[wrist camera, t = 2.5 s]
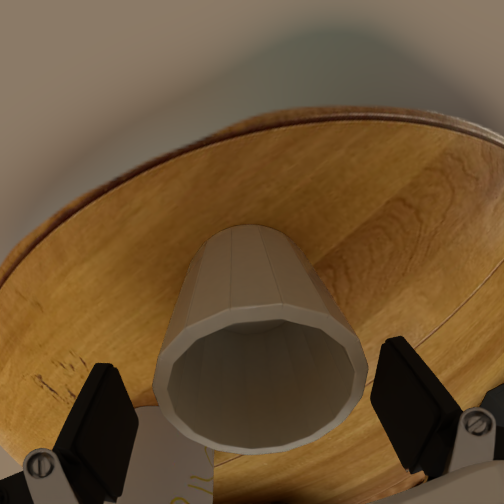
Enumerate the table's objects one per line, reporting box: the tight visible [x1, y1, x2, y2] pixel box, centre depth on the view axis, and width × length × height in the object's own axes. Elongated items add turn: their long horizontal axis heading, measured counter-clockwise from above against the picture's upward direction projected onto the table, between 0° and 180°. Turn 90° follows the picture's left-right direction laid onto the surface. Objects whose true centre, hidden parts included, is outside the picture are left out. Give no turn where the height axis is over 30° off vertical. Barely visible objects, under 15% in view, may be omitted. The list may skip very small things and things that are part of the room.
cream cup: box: [152, 225, 368, 455], centre depth 13 cm, size 7×7×9 cm
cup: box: [104, 406, 214, 504], centre depth 16 cm, size 8×8×12 cm
